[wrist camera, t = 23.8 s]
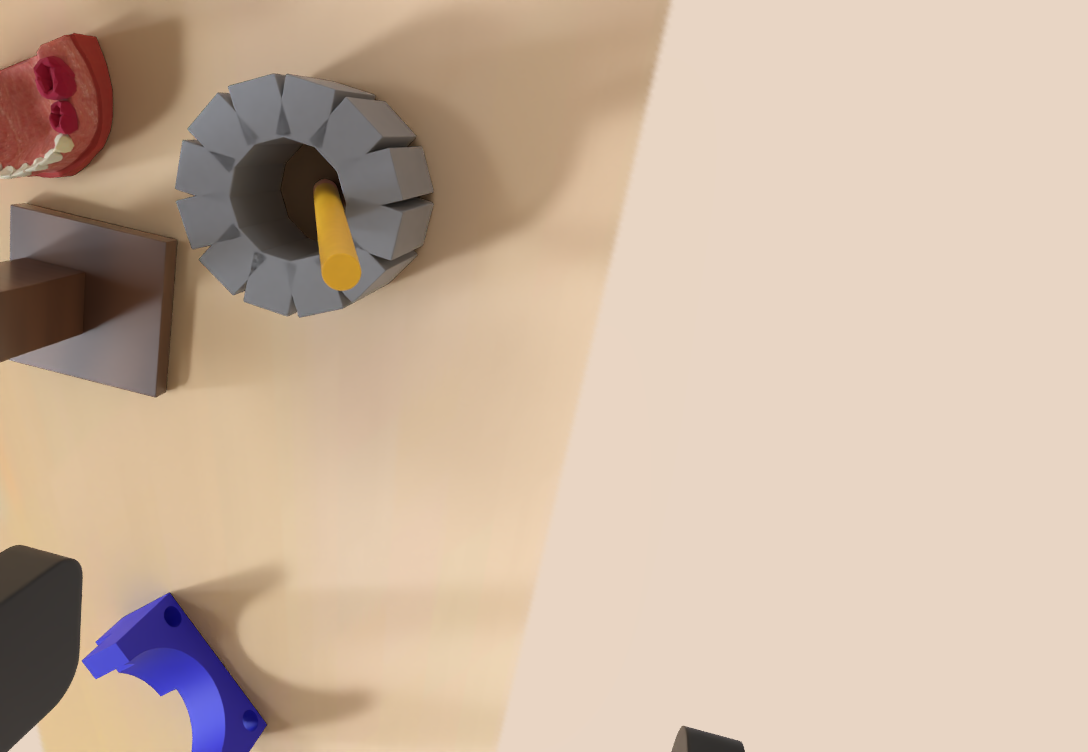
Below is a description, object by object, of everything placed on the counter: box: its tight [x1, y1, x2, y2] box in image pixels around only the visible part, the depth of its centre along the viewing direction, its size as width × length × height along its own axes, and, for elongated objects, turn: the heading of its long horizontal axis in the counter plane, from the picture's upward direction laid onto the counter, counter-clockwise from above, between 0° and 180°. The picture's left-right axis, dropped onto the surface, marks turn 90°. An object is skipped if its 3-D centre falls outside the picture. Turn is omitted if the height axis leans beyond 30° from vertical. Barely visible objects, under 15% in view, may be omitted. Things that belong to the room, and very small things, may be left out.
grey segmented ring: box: [175, 74, 434, 317], centre depth 45 cm, size 12×12×6 cm
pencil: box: [313, 179, 361, 291], centre depth 38 cm, size 20×1×1 cm
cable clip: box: [82, 593, 267, 752], centre depth 56 cm, size 12×4×6 cm, turn 31°
